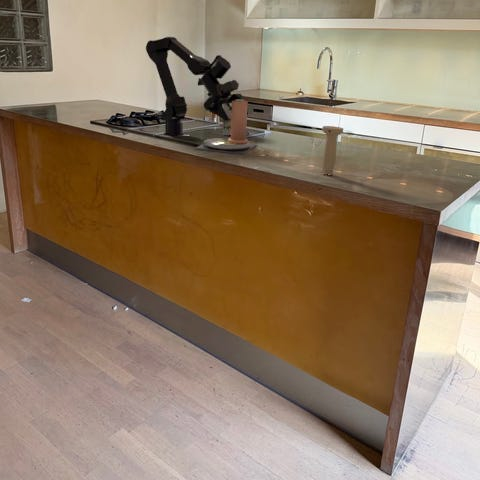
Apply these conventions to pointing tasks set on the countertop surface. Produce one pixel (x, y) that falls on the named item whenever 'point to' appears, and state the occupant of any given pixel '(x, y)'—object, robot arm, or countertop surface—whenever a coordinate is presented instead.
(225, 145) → the turntable disk
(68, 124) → the countertop surface
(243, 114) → the pink tall cylinder
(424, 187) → the countertop surface
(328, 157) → the handle
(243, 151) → the base
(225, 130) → the coffee box
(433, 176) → the countertop surface
